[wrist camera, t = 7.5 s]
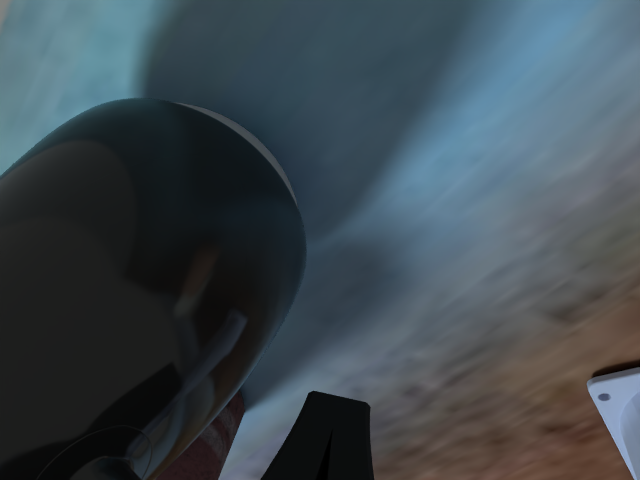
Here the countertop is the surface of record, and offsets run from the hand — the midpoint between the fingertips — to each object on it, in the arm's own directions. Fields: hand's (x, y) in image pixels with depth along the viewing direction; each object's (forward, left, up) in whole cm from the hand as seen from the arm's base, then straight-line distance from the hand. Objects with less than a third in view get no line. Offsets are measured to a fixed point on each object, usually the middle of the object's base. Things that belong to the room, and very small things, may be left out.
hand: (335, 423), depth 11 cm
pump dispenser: (+4, +6, -11) cm, 13 cm away
